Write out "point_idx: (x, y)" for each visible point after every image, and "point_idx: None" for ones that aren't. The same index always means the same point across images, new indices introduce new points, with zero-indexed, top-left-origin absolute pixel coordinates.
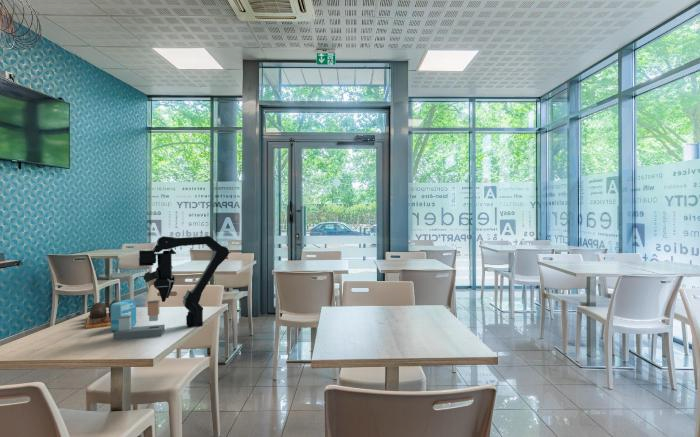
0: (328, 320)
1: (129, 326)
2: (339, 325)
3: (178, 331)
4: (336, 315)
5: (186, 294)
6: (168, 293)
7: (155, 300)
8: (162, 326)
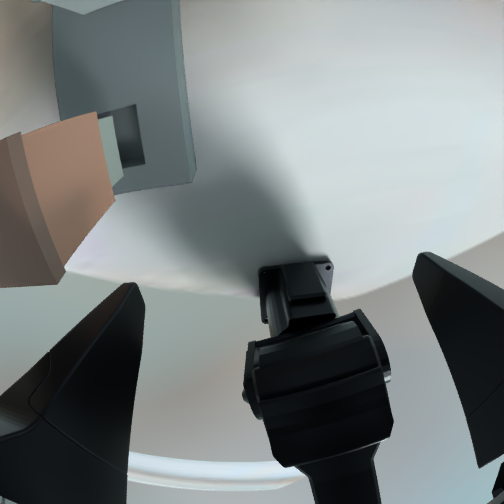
0: (235, 463)
1: (72, 10)
2: (197, 466)
3: (183, 243)
4: (269, 465)
5: (353, 415)
6: (441, 318)
7: (29, 238)
8: (137, 187)
